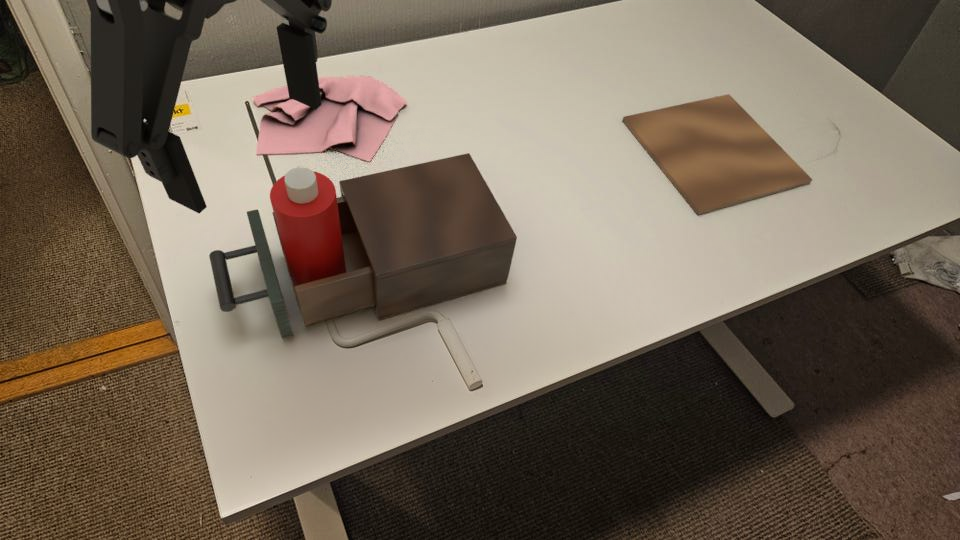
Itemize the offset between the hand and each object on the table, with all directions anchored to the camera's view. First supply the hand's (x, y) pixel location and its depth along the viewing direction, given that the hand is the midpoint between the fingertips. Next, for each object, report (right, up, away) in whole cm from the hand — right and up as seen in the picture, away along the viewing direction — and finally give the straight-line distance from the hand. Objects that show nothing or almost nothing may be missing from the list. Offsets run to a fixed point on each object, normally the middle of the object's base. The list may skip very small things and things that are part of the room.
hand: (251, 148), depth 47 cm
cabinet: (+11, -8, +26) cm, 29 cm away
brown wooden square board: (+52, +8, +43) cm, 68 cm away
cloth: (-4, +12, +39) cm, 41 cm away
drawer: (-1, -11, +21) cm, 24 cm away
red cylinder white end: (0, -10, +20) cm, 23 cm away
